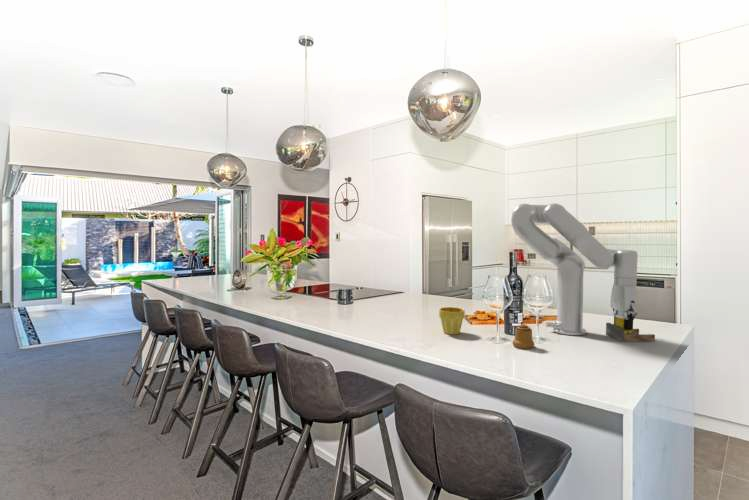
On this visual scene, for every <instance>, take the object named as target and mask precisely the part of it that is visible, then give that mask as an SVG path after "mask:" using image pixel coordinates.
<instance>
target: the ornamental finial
mask: <svg viewBox="0 0 749 500" xmlns="http://www.w3.org/2000/svg"><path fill="white" fill-rule="evenodd" d="M512 345H513V347H514V348H516V349H519V350H531V349H533V348H535V342H534V340H533V329H532V328H531V327H530V326H528V325H527V324H525V323H524V324H519V326H517V327H515V329H514V338H513V340H512Z"/></svg>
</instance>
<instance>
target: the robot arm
mask: <svg viewBox="0 0 749 500" xmlns="http://www.w3.org/2000/svg"><path fill="white" fill-rule="evenodd" d="M510 221H511V228H512V230H513V231H514V233H515V234H516V236H518V238H519V239H520V240H522V241H523V242H524V243H525V244H526V246H528V247H529V248H530V249H532V250H533V252H535V253H536V254H537V255H539V257H540V258H542V259H543V260H545V261H546V262H550V263H551V264H553V265H554V266H555V267H556V268H557V271H556V273H557V303H556V304H557V305H556V309H557V312H556V313H557V314H556V317H557V318H556V319H554V321H552V322H551V321H545V323H544V324H545V325H544V326H545V327H546V328H548V327H549V328H550V327H551V328H552V331H553V332H554V333H556V334H561V335H564V336H567V335H568V336H584V335H587V334H588V333H587V331H588V330H587V329H585V328H583V322H584V321H583V320H584V319H583V318H584V315H583V314H584V271H585V269H586V263H585V260H583V258H582V256H584V257H585V258H586V259H587V260H588V261H589V262H590V263H591V264H592V265H593V266H595V267H596V268H597V269H600V270H601V269H603V270H604V269H605V270H606V269H608V268H612V267H614V269H613V273H614V274H613V284H612V288H611V295H610V302H609V303H610V304H609V305H610V307H611V309H612V311H613V316H614V317H613V324H614V325H615V315H616V314H618V311H622V312H624V313H625V319H624V330H633V329H634V320H635V318H636V316H637V315H638V314H639V311H638V293H637V292H638V291H637V279H638V278H637V277H638V276H637V275H638V252H637V251H636V250H633V249H618V250H616V249H611V248H607V247H606V246H604V245H603V244H602V243H601V242H600V241H599V240H598V239H596V238H595V237H594V236H593V235H592V234H591V232H590V231H589V230H588V228H587V227H586V226H585V225H584V224H583V223H582V222H580V221H579V220H578V219H577V218H576V217H575V216H573V214H572V213H570V212H569V211H568V210H567V209H566V208H565V207H564V206H563V205H561V204H559V203H550V204H529V203H520V204H519V205H516V206H515V208H514V209H513V211H512V214H511V220H510ZM538 224H540V225H541V224H542V225H549V226H551V227H552V228H553V229H554V230H556V231H557V232H558V233H559V234H560V235H561V236H562V237H563V238H564V239H565V240H566V241H567V242H568V243H570V245H571V246H573V247H574V248H575V249H576V250H577V251H578V252H579V253H580V254H581V255H582V256H580V255H578V254H577V253H576V252H574V251H573V250H572V249H571V248H570V247H569V246H568V245H566V244H565V243H564V242H562V241H561V240H559V239H558V238H553V237H551V236H550V235H548V234H547V233H546V232H545V231H543V230H542V228H540V227H539V226H537V225H538ZM628 313H630V314H629V315H628Z"/></svg>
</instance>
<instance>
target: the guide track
mask: <svg viewBox="0 0 749 500" xmlns="http://www.w3.org/2000/svg"><path fill="white" fill-rule="evenodd" d="M605 336H607V337H609V338H612V339H613V340H615V341H618V342H622V343H623V342H626V343H627V342H629V343H630V341H645V342H655V341H656V335H655V334H652V333H649V334H646V333H645V334H640V329H639V328H633V330H631V335H624V328H622V327H619V326H617V325H614V323H611V322H605Z"/></svg>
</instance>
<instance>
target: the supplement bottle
mask: <svg viewBox="0 0 749 500" xmlns="http://www.w3.org/2000/svg"><path fill="white" fill-rule="evenodd" d="M629 314H630V313H628V315H629ZM614 316H615V325H617V326H619V327H622V328H624V319H625V313H624V312H622V311H618V314H616V315H614ZM624 335H631V330H624Z"/></svg>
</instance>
